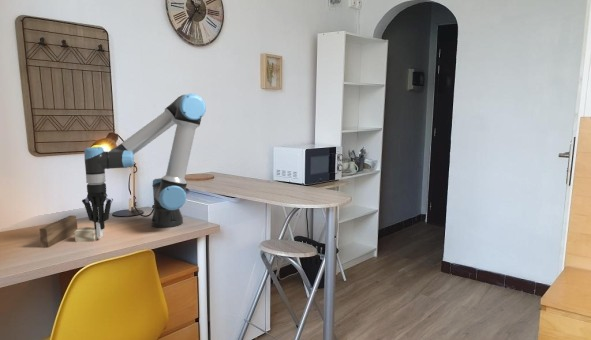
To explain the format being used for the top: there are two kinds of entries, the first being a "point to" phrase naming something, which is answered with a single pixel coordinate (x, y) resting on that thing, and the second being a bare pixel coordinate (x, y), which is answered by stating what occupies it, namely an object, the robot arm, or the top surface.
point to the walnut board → (58, 231)
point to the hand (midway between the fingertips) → (100, 236)
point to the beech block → (86, 234)
